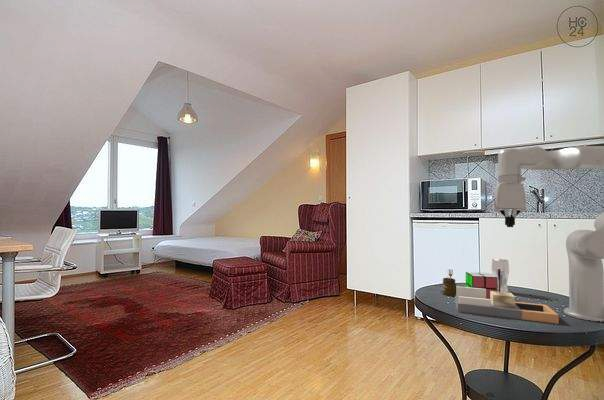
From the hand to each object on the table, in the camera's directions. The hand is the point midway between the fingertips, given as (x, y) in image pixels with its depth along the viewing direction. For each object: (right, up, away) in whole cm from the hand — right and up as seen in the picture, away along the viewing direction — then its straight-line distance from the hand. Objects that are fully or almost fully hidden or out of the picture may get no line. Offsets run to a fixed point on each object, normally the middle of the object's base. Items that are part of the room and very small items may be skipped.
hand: (509, 227), depth 123 cm
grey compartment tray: (-6, -32, -5) cm, 33 cm away
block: (-6, -29, -5) cm, 30 cm away
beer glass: (+13, -33, +26) cm, 44 cm away
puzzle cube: (-2, -33, +17) cm, 37 cm away
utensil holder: (-14, -33, +20) cm, 41 cm away
